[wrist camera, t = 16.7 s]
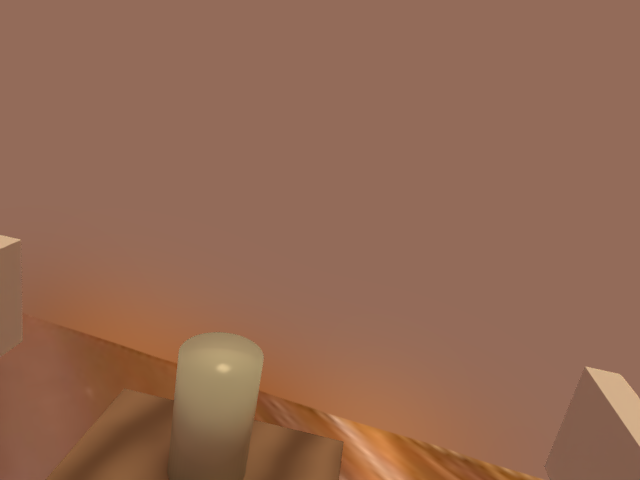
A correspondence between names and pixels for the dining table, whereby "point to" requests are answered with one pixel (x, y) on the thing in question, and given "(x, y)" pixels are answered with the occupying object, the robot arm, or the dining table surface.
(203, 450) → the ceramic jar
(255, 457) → the walnut board
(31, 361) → the dining table surface
